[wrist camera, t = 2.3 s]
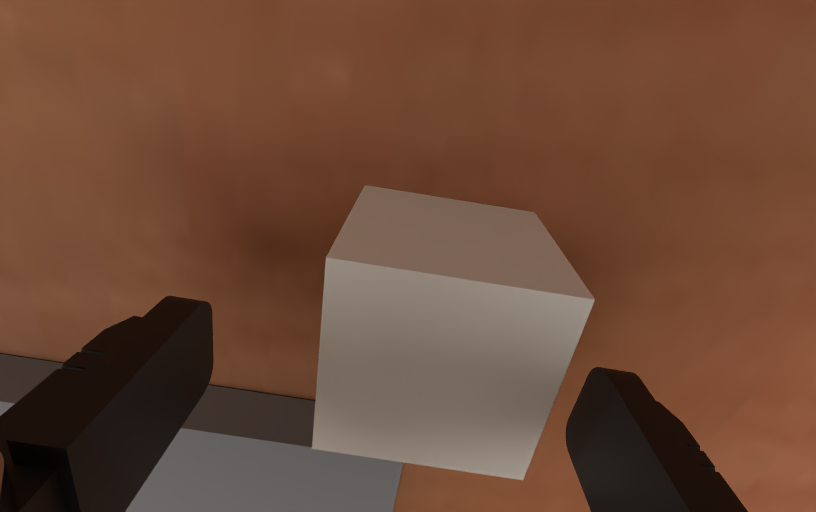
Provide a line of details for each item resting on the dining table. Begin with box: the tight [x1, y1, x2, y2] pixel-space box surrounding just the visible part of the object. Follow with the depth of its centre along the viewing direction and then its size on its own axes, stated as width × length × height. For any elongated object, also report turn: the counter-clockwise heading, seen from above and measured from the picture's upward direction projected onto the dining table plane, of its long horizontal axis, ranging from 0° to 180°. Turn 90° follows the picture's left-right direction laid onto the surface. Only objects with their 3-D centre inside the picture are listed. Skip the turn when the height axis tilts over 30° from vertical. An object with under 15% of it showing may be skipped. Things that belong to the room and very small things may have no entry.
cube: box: [312, 185, 595, 480], centre depth 11 cm, size 5×5×5 cm
